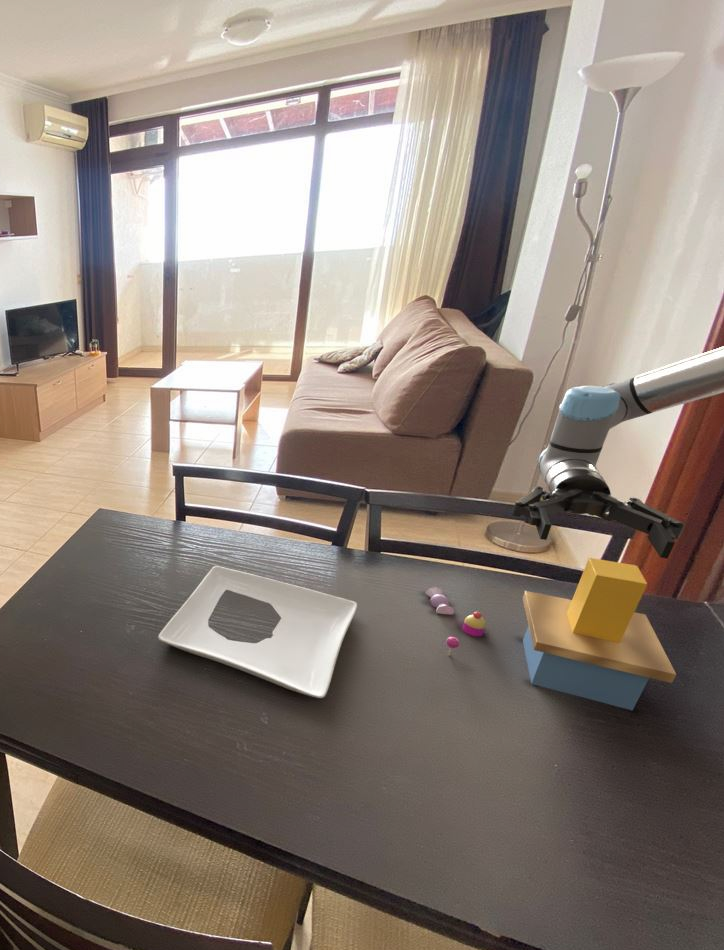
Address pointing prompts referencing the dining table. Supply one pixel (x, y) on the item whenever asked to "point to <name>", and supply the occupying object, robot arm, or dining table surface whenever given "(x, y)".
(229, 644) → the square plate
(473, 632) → the candy
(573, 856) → the dining table surface
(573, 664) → the blue box
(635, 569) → the yellow block
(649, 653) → the birch board
